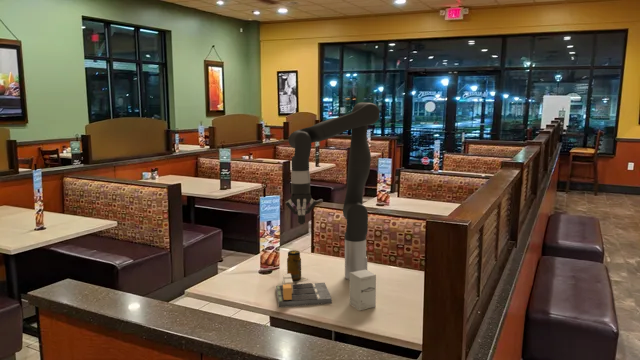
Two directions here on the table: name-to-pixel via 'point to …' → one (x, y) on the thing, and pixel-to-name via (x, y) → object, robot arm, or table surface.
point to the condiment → (294, 266)
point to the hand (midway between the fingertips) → (301, 223)
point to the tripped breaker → (287, 292)
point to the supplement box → (362, 289)
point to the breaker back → (286, 277)
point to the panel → (305, 295)
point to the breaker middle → (289, 281)
